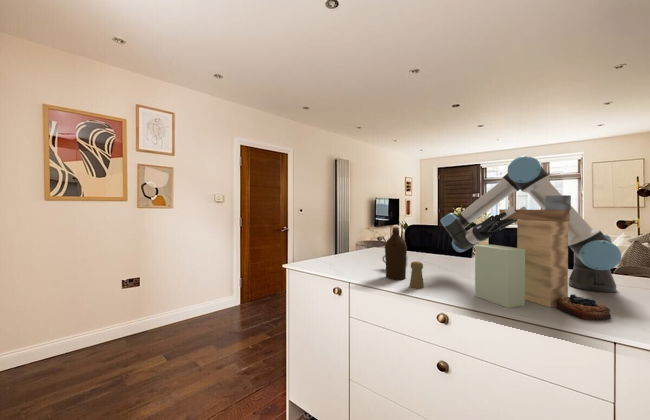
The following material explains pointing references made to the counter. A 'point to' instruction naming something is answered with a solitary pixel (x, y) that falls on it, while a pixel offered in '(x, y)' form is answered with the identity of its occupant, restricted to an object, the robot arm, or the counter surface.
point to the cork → (416, 275)
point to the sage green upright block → (500, 274)
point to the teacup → (385, 261)
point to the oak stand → (544, 259)
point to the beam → (546, 210)
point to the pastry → (583, 308)
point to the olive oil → (395, 256)
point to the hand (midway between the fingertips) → (519, 209)
